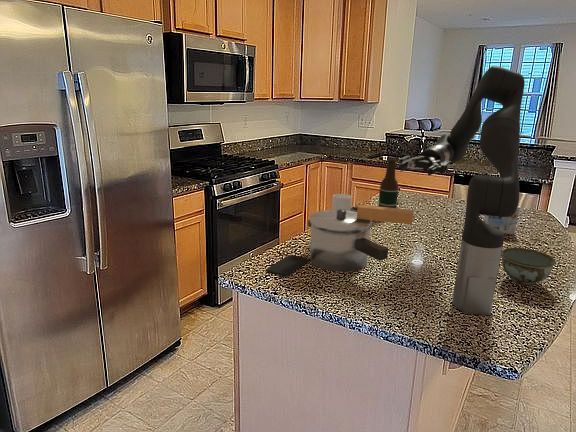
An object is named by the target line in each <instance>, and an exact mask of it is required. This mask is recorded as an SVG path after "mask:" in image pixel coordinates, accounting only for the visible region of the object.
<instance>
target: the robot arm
mask: <svg viewBox="0 0 576 432" xmlns="http://www.w3.org/2000/svg"><path fill="white" fill-rule="evenodd" d="M525 83H526V82H525V78H524V76H523V75H522V74H521V73H520V72H516V71H514V70H511V69H508V68H504V67H502V66H498V65H492V66H491V67H489V68H488V69H487V70H486V71H485V72H484V73H483V75H482V77H481V78H480V80H479V82H478V84H477V85H476V88H475V89H474V92H473V93H472V95H471V97H470V99H469V100H468V103H467V105H466V106H465V109H464V111H463V112H462V114H461V115H460V117H459V119H458V120H457V122H456V123H455V124H454V125H453V127H452V129H451V130H450V131H449V133H444V134H443V135H441V136H440V137H439V138H438V139H437V140H436V143H434V145H431V146H429V147H428V148H426V149H424V150H422V151H421V152H420V153H419V155H418V156H415V157H411V155H405V156H403V157H401V158H399V159H398V160H399V162H398V167H399V170H400V171H401V172H403V171H405V170H407V169H411V170H422V171H424V172H426V173H427V175H428V176H432V175H434V174H438V173H440V174H445V173H446V172H447V171H448V170H449V169H450V163H457V162H460V161H461V160H462V159H463V158H464V157H465V155H466V152H467V151H468V147H469V144H470V142H471V140H472V139H473V138H474V137H475V135H476V134H477V132H478V131H479V129H480V135H479V147H480V150H481V153H482V154H483V156H484V157H485V158H486V159H487V160H488V161H489V163H490V164H491V165H492V166H493V168H495V170H496V171H497V172H498V174H499V176H495V175H485V174H484V175H483V174H476V175H473V176H472V177H471V179H470V181H469V183H468V187H467V196H466V205H465V216H464V223H463V229H462V235H461V241H460V242H461V243H460V247H459V255H458V262H457V267H456V274H455V281H454V287H453V293H452V294H453V295H452V300H451V302H452V305H454V307H456V308H457V309H459V310H461V311H462V313H463V314H470V315H482V316H491V311H492V308H493V304H494V298H495V292H496V286H497V280H498V274H499V270H500V264H501V260H502V250H504V248H503V247H504V242H505V233H503V232H502V231H500V230H499V229H497V228H495V227H492V226H490V225H488V224H487V223H485V222H484V220H483V219H482V218H481V217H480V215H484V216H485V215H489V216H497V217H510V216H512V215H514V214H515V212H516V210H517V208H518V207H519V202H520V178H519V177H520V176H519V175H520V174H519V151H520V140H521V139H520V138H521V107H522V101H523V98H524V97H523V95H524V92H525ZM483 99H485V100H488V101H492V102H493V103H496V104H500V105H501V106H502V107H501V108H499V109H497V110H496V111H494V112H492V114H490V115H489V116H487V117H486V119H485V120H484V121H483V123H482V120H483V118H482V109H481V107H482V101H483Z"/></svg>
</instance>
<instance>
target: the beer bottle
mask: <svg viewBox="0 0 576 432" xmlns="http://www.w3.org/2000/svg"><path fill="white" fill-rule="evenodd" d="M386 161H387V165H386V171H385V175H384V178H383V179H382V180H381V182H380V186H379V194H378V205H377V206H378V207H388V208H397V205H398V197H399V182H398V180H397V178H396V162H397V159H395V158H388V159H387V160H386Z"/></svg>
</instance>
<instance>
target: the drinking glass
mask: <svg viewBox="0 0 576 432" xmlns="http://www.w3.org/2000/svg"><path fill="white" fill-rule="evenodd" d="M331 201H332V203H331V210H339V209H342V210H347V211H350V210H351V208H352V195H350V194H346V193H336V194H335V193H334V194H333V195H332V200H331Z"/></svg>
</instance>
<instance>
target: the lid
mask: <svg viewBox="0 0 576 432" xmlns="http://www.w3.org/2000/svg"><path fill="white" fill-rule="evenodd" d="M414 211H415V210H414V209H406V208H397V207H396V208H388V207H378V205H375V206H374V205H365V204H358V208H357V212H354V211H347V210H342V209H339V210H332V209H325V210H324V209H323V210H319V211H315V212H313V213H312V214H310V217H309V218H310V219H309V220H310V223H311V225H312V226H314V227H316V228H318V229H321V230H325V231H329V232H336V233H357V232H363V231H366V230H368V229H370V230H371V228H372V226H373V221H375V222H376V221H377V222H385V223H394V224H403V225H413V220H414Z"/></svg>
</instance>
